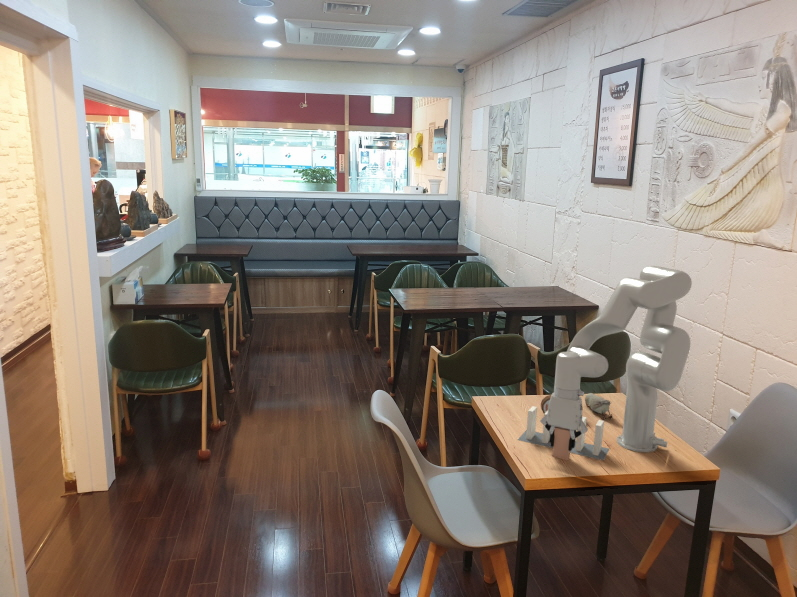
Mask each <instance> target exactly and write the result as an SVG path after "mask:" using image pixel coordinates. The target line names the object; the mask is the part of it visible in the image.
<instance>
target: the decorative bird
mask: <svg viewBox="0 0 797 597" xmlns="http://www.w3.org/2000/svg"><path fill="white" fill-rule="evenodd" d="M584 397H585V398H584V402H585V406H589V407H590V409H591V411H593V412H595V413H598V414H600V415H601V414H602V417H600V418H601V419H600V420H602V421H605V420H607V418H606V414H607V413H608V414H609V416H608V419H613V413H611V412H610V405H611V404H612V401H611V400H608V399H605V398H604V397H602V396H598V395H596V394H594V393H592V392H589V393H587V394H586V395H585V396H584ZM605 413H606V414H605ZM604 419H605V420H604Z"/></svg>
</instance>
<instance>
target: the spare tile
mask: <svg viewBox="0 0 797 597" xmlns="http://www.w3.org/2000/svg"><path fill="white" fill-rule="evenodd" d="M570 438H571V434H570V430H569V429H564V428H560V427H555V431H554V446H553V448H552V457H553V458H557V459H562V460H565V461H566V460H567V461H570V458H571V457H570V455H571V453H570V451H569V450H568V449H569V439H570Z"/></svg>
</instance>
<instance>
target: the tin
mask: <svg viewBox="0 0 797 597" xmlns="http://www.w3.org/2000/svg"><path fill="white" fill-rule="evenodd" d="M551 395H552V394H549V395H546V396H545V397H544V398H542V399H541V402H540V409H541V411H542V413H543V415H544V414H545V413H546V412H547V411H548V407H549V402H550V398H551ZM582 411H583V406H582Z"/></svg>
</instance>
